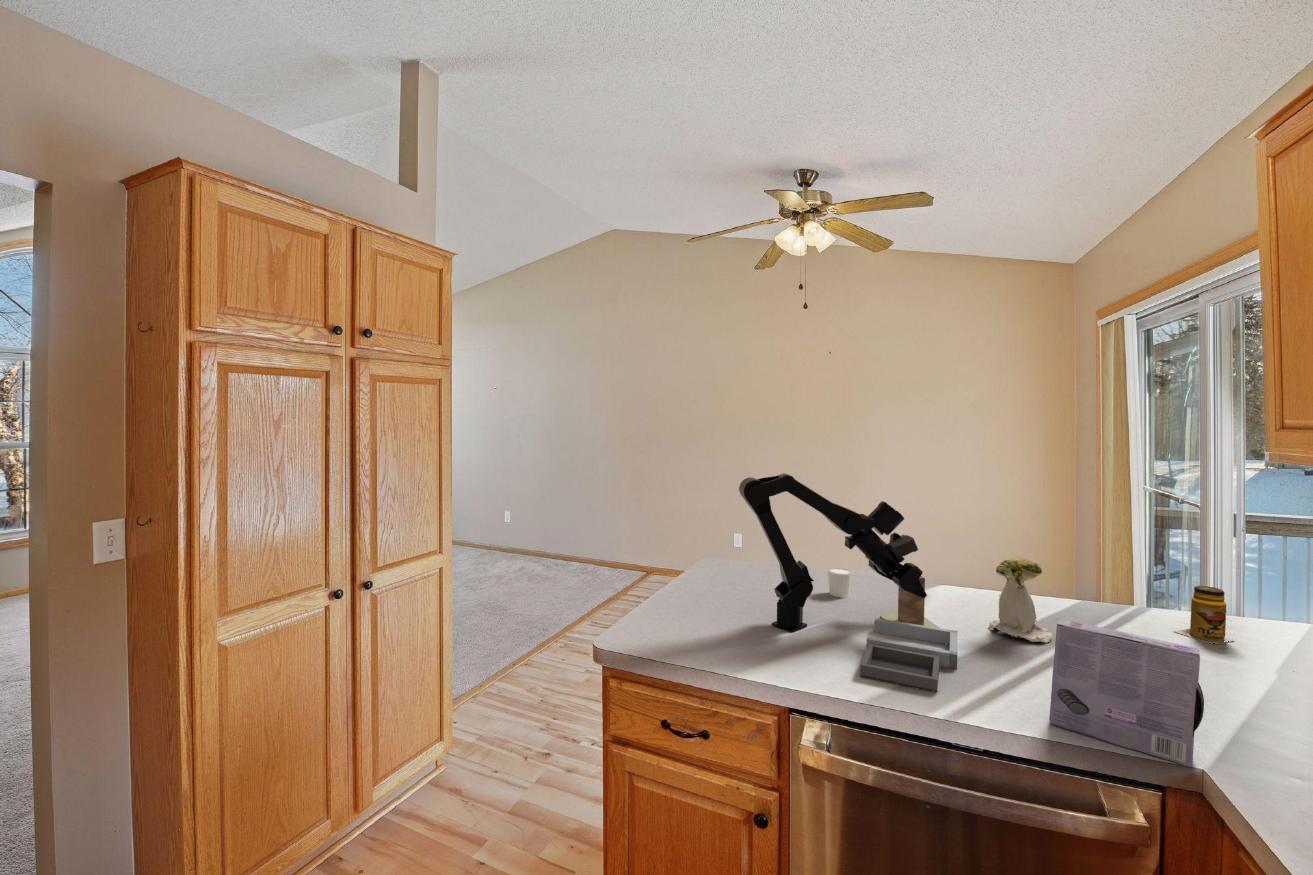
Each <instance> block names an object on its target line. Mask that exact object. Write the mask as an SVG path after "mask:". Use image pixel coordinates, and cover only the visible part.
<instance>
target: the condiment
mask: <svg viewBox="0 0 1313 875" xmlns="http://www.w3.org/2000/svg"><path fill="white" fill-rule="evenodd" d="M1193 590H1194V591H1193V596H1192V597H1191V603H1190V604H1191V605H1190V623H1189V625H1190V626H1189V628H1184V629H1180V630H1173V631H1172V632H1173V633H1177V634H1181V635H1184V636H1188V637H1190V638H1192V639H1195V640H1198V641H1201V642H1205V643H1208V644H1210V643H1211V644H1212V645H1219V644H1226V643H1230V642H1234V641H1236V640H1235V639H1231V638H1226V630H1227V628H1226V626H1227V623H1226V622H1227V603H1226V601H1225V591H1224V590H1223V589H1222V588H1221V589H1220V588H1218V587H1213V586H1206V585H1196V586H1194V588H1193ZM1224 641H1225V642H1224ZM1228 641H1229V642H1228ZM1213 643H1215V644H1213Z"/></svg>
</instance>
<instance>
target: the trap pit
mask: <svg viewBox="0 0 1313 875" xmlns="http://www.w3.org/2000/svg"><path fill="white" fill-rule="evenodd" d="M861 660H862V661H861V663H860V674H859V676H860V678H864V679H867V680H868V679H869V680H873V681H878V682H884V683H888V684H892V685H897V684H898V686H902V687H908V688H913V689H916V688H918V690H923V691H928V692H931V691H934V692H933V693H936V692H937V693H938V690H937V689H939V688H938V687H939V675H940V674H939V673H940V666H939V656H934V655H928V654H922V653H917V652H911V651H906V650H900V649H894V648H889V647H883V646H878V645H872V644H869V645H868V647H867V650H866V649H865V653H864V655H863V658H862V659H861Z"/></svg>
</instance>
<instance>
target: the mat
mask: <svg viewBox="0 0 1313 875" xmlns="http://www.w3.org/2000/svg"><path fill="white" fill-rule="evenodd" d="M879 618H880V619H885V620H892V621H898V622H900V621H899V620H898V614H881V615H880V616H879ZM924 626H930V627H936V628H940V627H939V626H938V625H937V624H935V623H934V622H932V621H931V620H929V619H928V618H926V617H925V616H924Z"/></svg>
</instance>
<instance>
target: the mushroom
mask: <svg viewBox="0 0 1313 875" xmlns="http://www.w3.org/2000/svg"><path fill="white" fill-rule="evenodd" d="M1042 570H1043V569H1042V568H1041V566H1040V565H1039V564H1038V563H1037V562H1034V561H1032V560H1030V559H1026V558H1023V557H1022V558H1021V557H1020V558H1019V557H1018V558H1006V559H1003V561H1001V562H1000V563H999V564H998V566H996V569H995V572H996V574H997V575H999V576H1002V577H1004V579H1006V582H1005V585H1004V587H1003V588H1002V590H1001V593H1000V594H999V595H998V596H999V599H998V600H999V601H998V620H997V619H996V620H995V619H993V621H989V624H988V625H989V626H988V628H990V629H989V631H990V630H991V631H994V629H996V630H998V631H1001V632H1004V633H1006V634H1008V635H1010V636H1011V637H1012V638H1013V637H1015V638H1018V637H1019V638H1018V639H1023V638H1024V639H1026V640H1028V641H1029V642H1032V643H1034V642H1037V643H1038V642H1041V643H1046V644H1047V643H1048V642H1049V643H1050V641H1051V640H1052V639H1053V634H1052V633H1051V632H1050V629H1047V628H1045V627H1042V626H1040V627H1039V626H1038V625H1037V624H1036V623H1037V620H1038V619H1037V614H1036V608H1035V604H1034V600H1033V598H1032V596H1031V594H1030V592H1029V591H1028V589H1027V587H1026V586H1025V582H1027V581H1028V582H1029V581H1030V580H1033V579H1035V578H1037V577H1039V576H1040V575H1041V574H1042V573H1043V571H1042Z"/></svg>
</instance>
